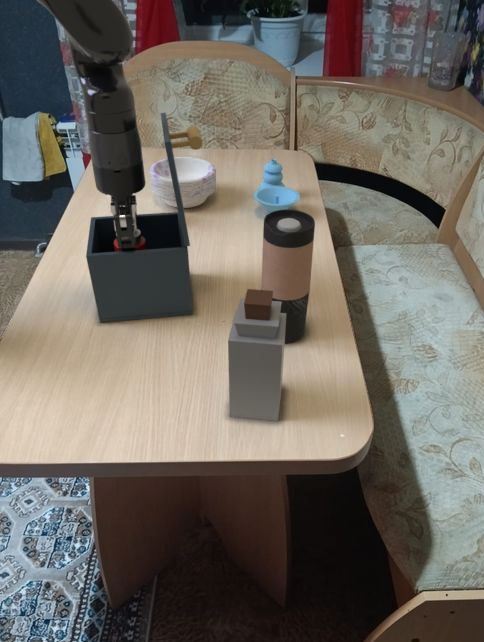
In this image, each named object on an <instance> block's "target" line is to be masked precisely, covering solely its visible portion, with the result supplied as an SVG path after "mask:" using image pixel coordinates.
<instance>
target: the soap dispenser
mask: <svg viewBox="0 0 484 642" xmlns="http://www.w3.org/2000/svg"><path fill="white" fill-rule="evenodd" d="M263 171H264V172H263V173H262V179H263V181H262V182H261V184H259V186H258V189H257V190H255V191H254V193H253V198H254V199H255V200H256V202H258V203H259V204H260V205H261V206H262V207H263V208H264V209H265V210H266V211H267V212H268V214H269V213H271V212H274V211H278V210H289V209H290V208H291V207H292V206H293V205H295V204H296V203H297V202H298V201H299V200H300V198H301V195H300V193H299V192H298V191H297V190H295V189H293V188H290V187H287V186H286V185H285V184H284V182H282V181H283V179H284V175H283V166H282V164H281V163H280V162H277V159H276V158H270V159H269V162H267V163H265V164H264V166H263Z"/></svg>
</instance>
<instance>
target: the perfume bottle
mask: <svg viewBox="0 0 484 642" xmlns="http://www.w3.org/2000/svg"><path fill="white" fill-rule="evenodd" d="M272 297H273V291H268V290H261V289H254V288H247V289H246V293H245V298H239V301H238V306H237V308H236V309H235V311H234V314H233V319H232V322H231V326H230V331H229V335H228V340H227V349H228V351H227V352H228V353H227V355H228V356H227V357H228V359H227V360H228V396H229V397H228V398H229V399H228V400H229V401H228V403H229V417H231V418H239V419H240V418H241V419H251V420H261V421H274V422H275V421H276V422H278V421H279V418H280V417H279V416H280V409H281V398H282V391H283V389H282V388H283V377H284V376H283V374H284V359H285V344H286V343H285V328H286V313H280V311H281V303H282V302H279V301H272Z"/></svg>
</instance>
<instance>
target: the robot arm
mask: <svg viewBox="0 0 484 642" xmlns="http://www.w3.org/2000/svg"><path fill="white" fill-rule="evenodd" d="M36 1H37V2H38V3H39V4H41V5H42V6H43V7H44V8H45V9H46V10H47V11H48V12H50V14H51V15H52V16H53V17H54V18H55V20H56V21H57V22H58V23H59V25H60V26H61V27H62V28H63V30H65V32H66V36H67V41H68V42H67V43H68V46H69V50H70V54H71V58H72V61H73V65H74V68H75V73H76V75H77V78H78V79H77V80H78V82H79V85H80V88H81V92H82V101H83V108H84V115H85V119H86V120H85V121H86V125H87V132H88V134H87V135H88V148H89V153H90V160H91V165H92V170H93V177H94V182H95V187H96V190H97V191H99V193H100V194H103V195H104V194H106V195H110V196H111V203H110V208H111V213H112V214H113V220H114V228H115V231H116V232H117V238H118V247H119V249H121V250H122V251H134V250H136V247H135V246H136V241H135V234H134V233H135V231H136V230H137V223H136V216H137V215H138V208H137V206H138V203H137V202H138V201H137V195H136V194H138V193H139V192H141V191H142V190H143V189H145V187H146V176H145V165H144V157H143V149H142V141H141V136H140V132H139V127H138V121H137V111H136V102H135V97H134V93H133V90H132V87H131V86H130V84H129V83H128V80H127V78H126V76H125V72H124V66H123V63H124V62H126V61H127V60H128V59H129V57H130V55H131V53H132V50H133V46H134V34H133V30H132V27H131V24H130V22H129V19H127V17H126V15H125V13H124V12H123V11H122V10H121V8H120V7H119V6H118V5H117V4H116V2H115V1H114V0H36ZM132 194H133V195H132ZM122 237H130V238H131V239H124V240H123V239H122Z"/></svg>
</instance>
